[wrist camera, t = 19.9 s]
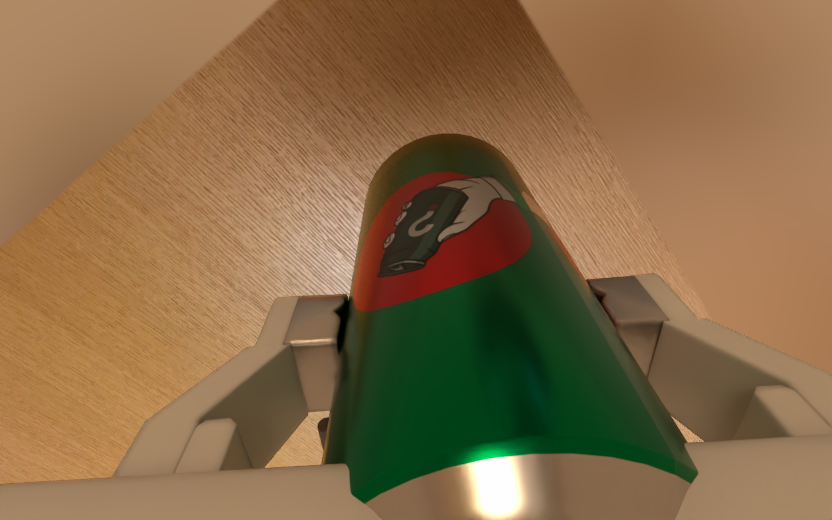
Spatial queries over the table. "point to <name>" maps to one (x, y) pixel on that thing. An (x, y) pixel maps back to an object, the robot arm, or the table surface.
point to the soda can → (488, 360)
